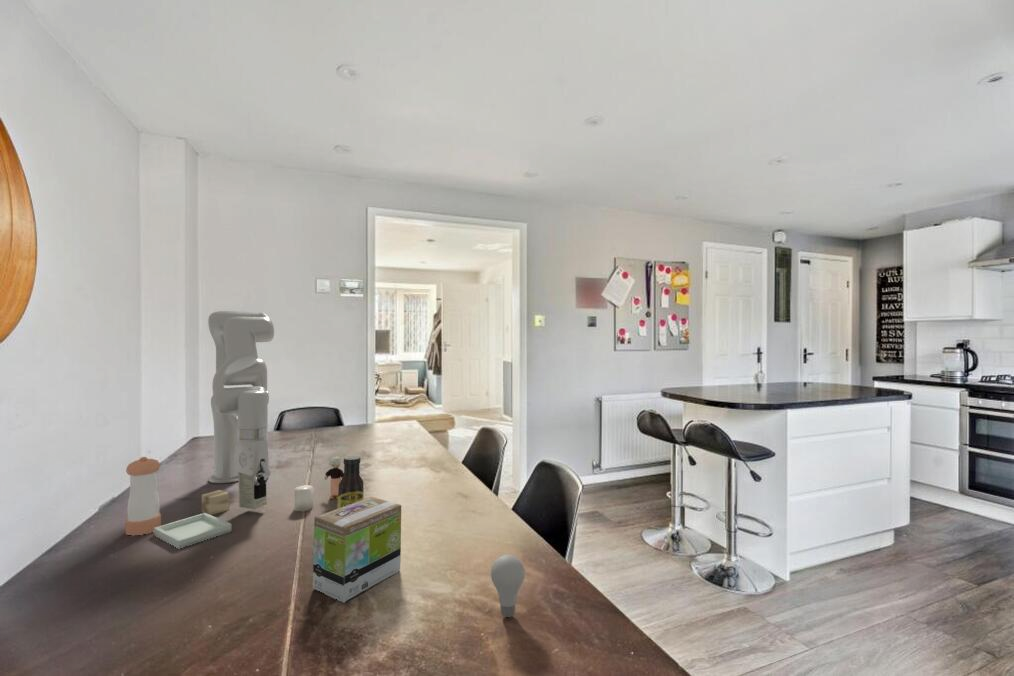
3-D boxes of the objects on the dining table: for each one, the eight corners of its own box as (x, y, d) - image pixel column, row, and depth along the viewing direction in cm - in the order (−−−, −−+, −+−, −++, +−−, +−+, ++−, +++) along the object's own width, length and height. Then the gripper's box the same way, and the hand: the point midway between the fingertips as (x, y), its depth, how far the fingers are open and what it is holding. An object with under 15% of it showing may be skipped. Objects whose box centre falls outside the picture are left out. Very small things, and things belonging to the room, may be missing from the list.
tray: (153, 535, 118) (153, 527, 118) (205, 519, 128) (205, 512, 128) (178, 549, 110) (178, 541, 110) (231, 531, 120) (231, 523, 120)
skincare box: (267, 504, 135) (267, 462, 134) (254, 510, 131) (254, 467, 130) (250, 501, 137) (250, 460, 137) (237, 507, 133) (237, 464, 132)
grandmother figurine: (350, 495, 147) (349, 455, 147) (344, 499, 144) (344, 458, 144) (326, 494, 148) (326, 455, 148) (320, 498, 144) (320, 458, 144)
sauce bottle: (338, 543, 114) (338, 462, 113) (335, 533, 119) (334, 456, 119) (365, 537, 117) (365, 459, 117) (361, 528, 122) (361, 453, 122)
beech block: (201, 511, 134) (201, 494, 134) (220, 506, 138) (220, 489, 138) (210, 515, 131) (210, 497, 131) (228, 509, 136) (228, 492, 136)
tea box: (345, 605, 88) (344, 527, 88) (311, 589, 93) (311, 516, 93) (402, 571, 100) (402, 502, 100) (370, 559, 106) (370, 494, 106)
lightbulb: (490, 608, 87) (490, 549, 87) (522, 606, 87) (522, 547, 87) (491, 628, 81) (491, 565, 81) (526, 626, 81) (526, 563, 81)
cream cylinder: (290, 509, 136) (290, 488, 136) (306, 504, 140) (306, 484, 140) (301, 512, 133) (301, 491, 133) (316, 507, 137) (316, 487, 137)
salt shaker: (167, 527, 123) (166, 455, 123) (135, 538, 116) (135, 462, 116) (151, 522, 126) (150, 452, 126) (119, 533, 119) (119, 458, 119)
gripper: (223, 431, 135) (223, 492, 135) (256, 440, 125) (256, 505, 126) (249, 427, 141) (249, 485, 141) (282, 435, 132) (282, 497, 132)
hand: (252, 494), depth 134 cm, fingers closed on skincare box, 6 cm apart
